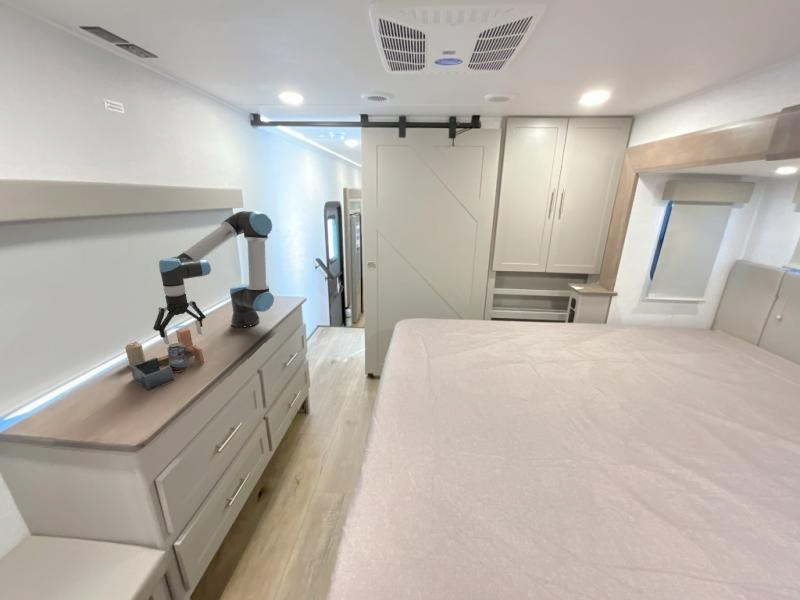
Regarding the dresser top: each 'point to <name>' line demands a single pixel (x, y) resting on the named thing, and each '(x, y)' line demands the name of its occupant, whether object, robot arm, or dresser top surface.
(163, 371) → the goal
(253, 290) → the robot arm
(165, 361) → the rail
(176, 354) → the beverage can
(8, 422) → the dresser top surface
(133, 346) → the candle
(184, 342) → the kicker
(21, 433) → the dresser top surface
